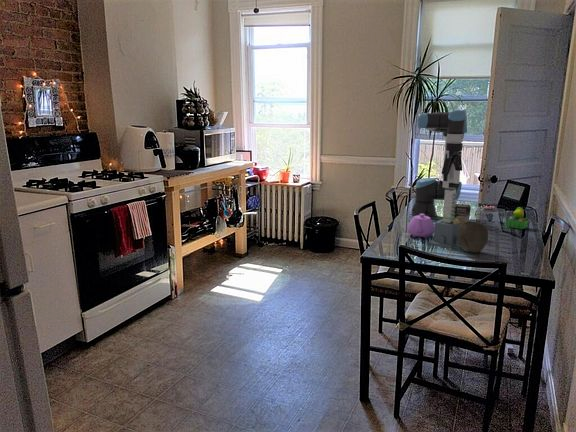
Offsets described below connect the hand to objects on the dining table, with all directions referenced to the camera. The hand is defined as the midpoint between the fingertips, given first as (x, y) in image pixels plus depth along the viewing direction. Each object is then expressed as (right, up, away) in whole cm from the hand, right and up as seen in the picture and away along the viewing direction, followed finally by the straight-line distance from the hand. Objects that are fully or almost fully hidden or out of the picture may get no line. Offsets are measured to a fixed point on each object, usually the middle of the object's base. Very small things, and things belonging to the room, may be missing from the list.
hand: (450, 185), depth 228 cm
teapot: (-10, -26, +19) cm, 34 cm away
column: (0, -22, +5) cm, 22 cm away
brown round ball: (+7, -33, -7) cm, 34 cm away
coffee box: (+12, -25, +22) cm, 36 cm away
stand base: (0, -29, +7) cm, 30 cm away
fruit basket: (+50, -22, +35) cm, 65 cm away
